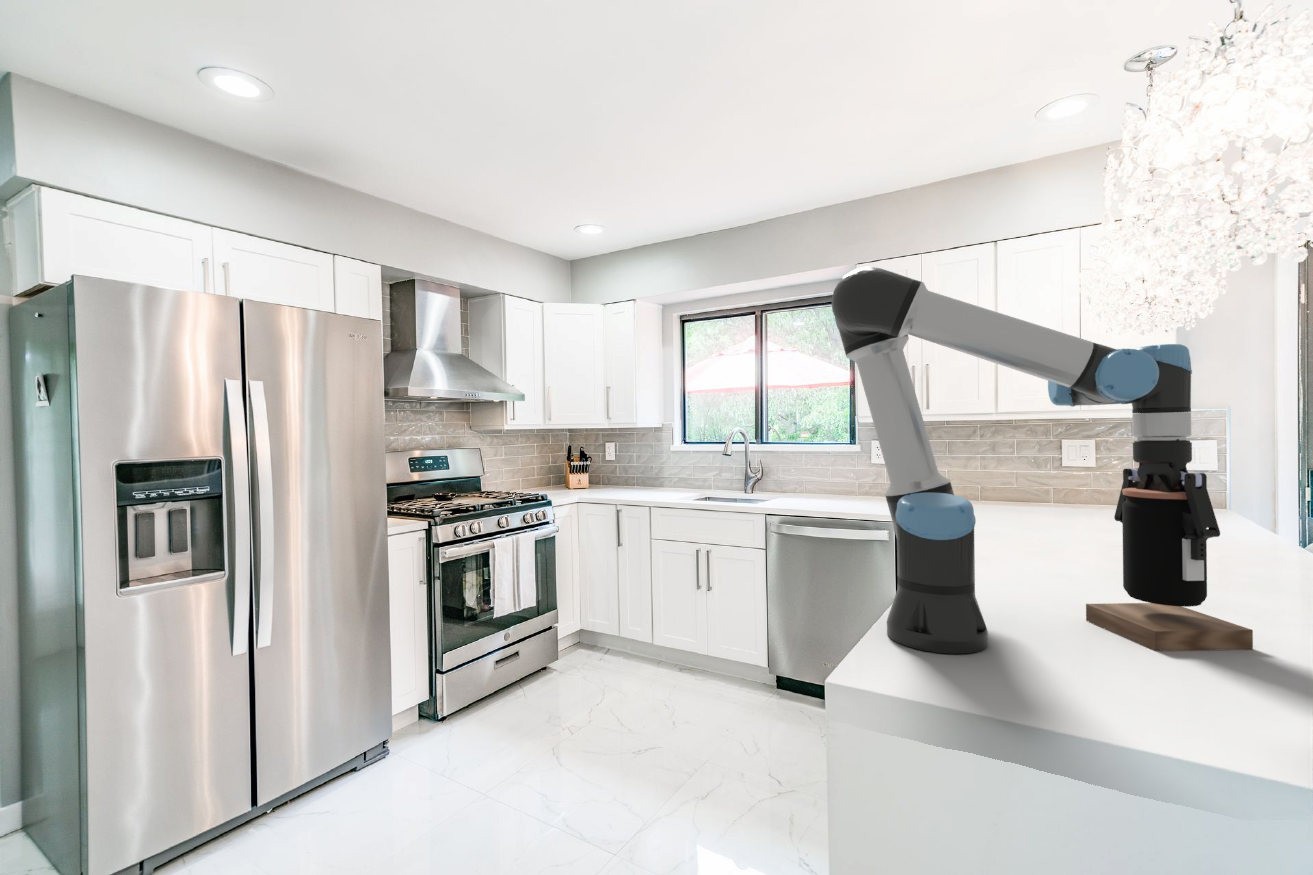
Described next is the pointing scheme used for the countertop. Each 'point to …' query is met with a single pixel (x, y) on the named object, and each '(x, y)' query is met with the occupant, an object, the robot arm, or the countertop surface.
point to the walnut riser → (1169, 627)
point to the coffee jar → (1157, 549)
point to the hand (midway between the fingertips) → (1163, 571)
